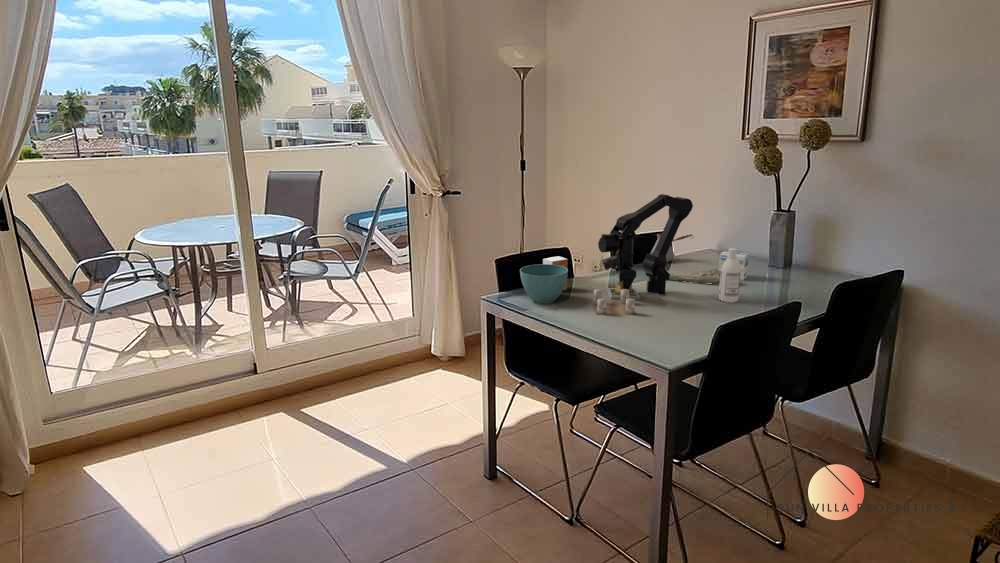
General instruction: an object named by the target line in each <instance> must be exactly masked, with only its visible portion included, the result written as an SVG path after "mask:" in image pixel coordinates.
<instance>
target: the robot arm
mask: <svg viewBox="0 0 1000 563" xmlns="http://www.w3.org/2000/svg"><path fill="white" fill-rule="evenodd" d="M666 207H668V219H667V220H666V223H665V226H664V228H663V230H662V233H660V234H661V236H660V239H659V241H658V243H657V245H656V248H655V250H654V251H653V252H652V253H651V252H650V253H651V254H650V253H648V252H647V253H646V254H645V257H644V260H643V261H642V263H643V265H642V269H643V271H644V272H645V276H646V277H648V280H646V292H647V293H653V294H658V296H659V295H660V296H663V295H664V296H666V295H667V292H666V287H667V286H666V283H667V281H669V280H668V279H669V277H670V274H669V273H668V272H667V271H668V270H666V266H667V263H666V254H667V252H668V250H669V248H670V246H671V247H672V243H673V242H674V241H673V240H674V238H675V236H676V234H677V233H678V229H679V227H680V225H681V224H682V222H683V221H684V220H685V219H686V218H688V216H689V215H690V213H691V211H693V207H694V204H693V202H692V200H691V199H690V198H685V197H681V196H680V197H679V196H675V197H674V196H670V195H668V194H664V193H661V194H658V195H657V196H656V197H655V198H653V199H652V200H651V201H649V202H648V203H646V204H645V205H643V206H642V207H640V208H638V209H637V210H635V211H633V212H630V213H626V214H624V215H622V216H619V217H618V218H617V219H616V222H615V225H614V226H613V227H612V229H611V230H610V233H608V234H607V233H602V234H601V237H600V238H599V239H598V244H597V245H598V250H599V251H600V252H601V253H611V252H615V255H613V256H609V257H607V258H603V259H602V260H601V262H602V265H603V268H604V270H605V271H606V270H607V271H608V270H610V269H614V270H615V271H616V272H617V274H618V282H623V289H628V290H629V288H630V286H631V284H632V285H633V282H634V280H635V279H636V278H637V274H638V273H637V271H636V269H635V268H634V263H633V259H634V258H633V257H634V239H638V238H640V237H639V235H638V234H636V231H637V230H638V229H639V228H640V227H641V225H642V223H643V222H644V221H645V220H647V219H649V218H650V217H652V216H653V215H655V214H656V213H658V212H659V211H660V210H662V209H664V208H666ZM672 241H673V242H672Z"/></svg>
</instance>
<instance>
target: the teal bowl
mask: <svg viewBox="0 0 1000 563" xmlns="http://www.w3.org/2000/svg"><path fill="white" fill-rule="evenodd" d="M519 274H520V275H519V276H520V280H521V284H522V286H523V289H524V291H525V292H526V294H527V295H528V297H529V298H530V299H531V300H532V301H533V302H534V303H537V304H544V303H545V304H551V303H554V302H555V301H557V299H558V298H559V297H560V295H561V294H562V293H563V291H564V290H563V289H564V286H565V284H566V280H567V281H568V274H569V269H568V267H567V268H566V267H563V266H559V265H551V264H543V263H542V264H540V263H539V264H538V263H537V264H532V265H531V264H530V265H526V266H523V267H521V268H520V269H519Z"/></svg>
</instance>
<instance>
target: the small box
mask: <svg viewBox="0 0 1000 563" xmlns="http://www.w3.org/2000/svg"><path fill="white" fill-rule="evenodd" d="M568 262H569V261H568V258H565V257H563V256H559V255H557V256H551V257H547V258H543V259H542V264H551V265H559V266H563V267H566V268H567V269H568V265H569V264H568ZM566 290H567V291H568V279H567V280H566V284H565V286H564V289H563V291H566Z"/></svg>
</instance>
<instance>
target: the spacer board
mask: <svg viewBox="0 0 1000 563" xmlns="http://www.w3.org/2000/svg"><path fill="white" fill-rule="evenodd" d="M635 302H636V300H635V299H631V298H629V290H628V289H622V290H621V300H619V301H618V300H612V301H607V299H606V298H603V290H602V289H601V288H596V289H593V300H592V301H591V304H592V306H593V309H594V312H595V315H596V316H637V313H636V312H635Z"/></svg>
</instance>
